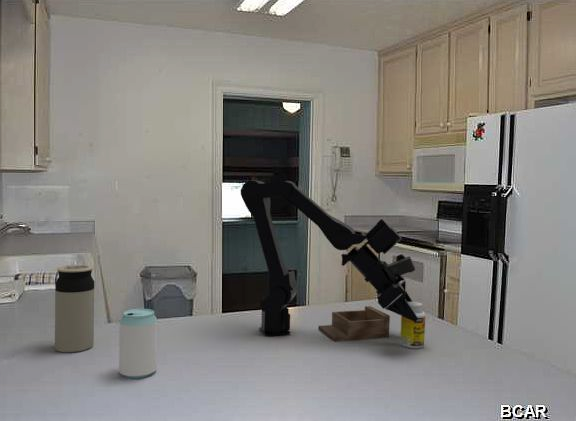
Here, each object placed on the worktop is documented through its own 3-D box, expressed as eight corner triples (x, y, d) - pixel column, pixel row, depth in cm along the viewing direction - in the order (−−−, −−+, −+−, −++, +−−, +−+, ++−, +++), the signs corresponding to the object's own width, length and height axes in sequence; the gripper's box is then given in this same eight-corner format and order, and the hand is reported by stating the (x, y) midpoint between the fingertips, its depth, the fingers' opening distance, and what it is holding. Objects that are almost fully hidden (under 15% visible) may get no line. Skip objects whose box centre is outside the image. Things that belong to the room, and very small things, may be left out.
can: (136, 382, 92) (137, 318, 91) (111, 374, 96) (111, 312, 95) (164, 371, 98) (165, 311, 97) (139, 363, 102) (140, 305, 101)
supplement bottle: (412, 350, 115) (414, 307, 115) (395, 344, 120) (396, 302, 119) (429, 347, 118) (430, 304, 118) (411, 340, 123) (413, 299, 122)
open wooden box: (334, 341, 120) (335, 318, 120) (318, 329, 130) (319, 308, 130) (389, 337, 125) (389, 315, 125) (369, 326, 135) (370, 306, 135)
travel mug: (101, 345, 113) (102, 266, 112) (72, 355, 105) (73, 271, 105) (75, 340, 116) (76, 263, 115) (46, 349, 109) (47, 268, 108)
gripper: (394, 248, 110) (445, 302, 108) (396, 240, 128) (439, 286, 126) (357, 281, 112) (406, 334, 110) (364, 269, 130) (406, 314, 128)
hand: (416, 315), depth 118 cm, fingers open, 9 cm apart
